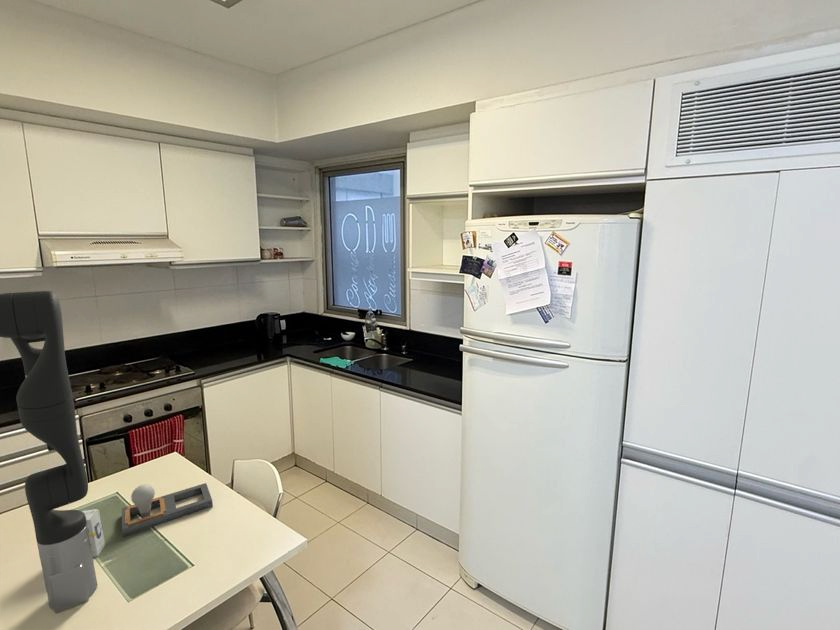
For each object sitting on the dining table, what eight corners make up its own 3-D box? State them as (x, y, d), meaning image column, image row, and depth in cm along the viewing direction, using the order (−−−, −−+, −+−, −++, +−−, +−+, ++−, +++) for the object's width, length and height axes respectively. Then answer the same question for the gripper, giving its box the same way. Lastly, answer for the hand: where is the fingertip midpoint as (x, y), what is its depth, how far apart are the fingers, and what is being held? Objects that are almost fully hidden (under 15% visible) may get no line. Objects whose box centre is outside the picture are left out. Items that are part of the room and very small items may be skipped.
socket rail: (212, 506, 138) (212, 499, 137) (123, 536, 124) (121, 528, 124) (206, 489, 147) (206, 482, 147) (123, 515, 134) (121, 507, 134)
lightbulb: (129, 522, 131) (125, 489, 129) (147, 510, 136) (143, 479, 134) (145, 526, 129) (140, 493, 127) (162, 513, 135) (158, 481, 133)
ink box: (105, 544, 121) (99, 507, 119) (97, 557, 116) (91, 518, 114) (70, 550, 119) (63, 512, 117) (60, 564, 114) (53, 524, 112)
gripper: (60, 392, 111) (70, 450, 114) (66, 378, 123) (75, 431, 126) (22, 399, 107) (33, 458, 110) (31, 384, 119) (41, 438, 122)
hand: (55, 443), depth 118 cm, fingers open, 8 cm apart
